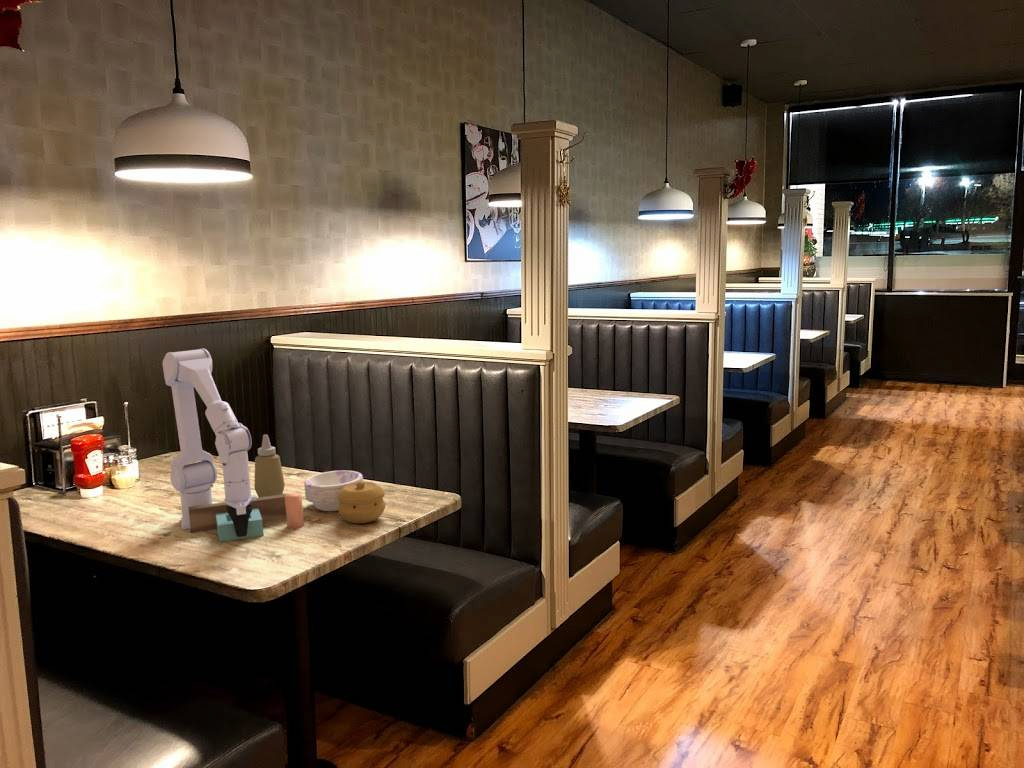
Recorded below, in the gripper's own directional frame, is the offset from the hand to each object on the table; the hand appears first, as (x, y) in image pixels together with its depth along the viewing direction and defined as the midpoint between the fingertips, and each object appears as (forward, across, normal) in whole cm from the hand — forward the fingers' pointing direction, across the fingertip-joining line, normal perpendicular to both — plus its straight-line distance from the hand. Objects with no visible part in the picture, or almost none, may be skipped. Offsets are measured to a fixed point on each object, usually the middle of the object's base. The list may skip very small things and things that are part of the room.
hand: (241, 535), depth 196 cm
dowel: (+1, +5, -13) cm, 14 cm away
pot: (+2, +2, -29) cm, 29 cm away
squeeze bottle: (+2, +32, -10) cm, 34 cm away
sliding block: (+1, +6, 0) cm, 7 cm away
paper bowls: (+2, +17, -25) cm, 30 cm away
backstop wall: (+1, +13, -1) cm, 13 cm away
